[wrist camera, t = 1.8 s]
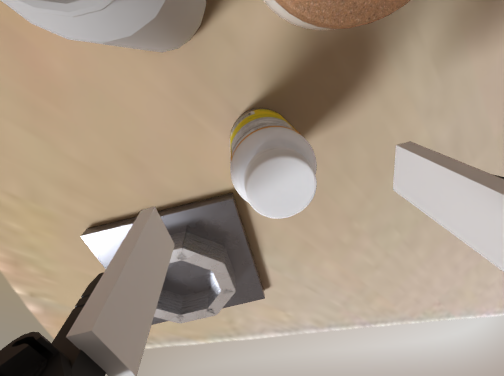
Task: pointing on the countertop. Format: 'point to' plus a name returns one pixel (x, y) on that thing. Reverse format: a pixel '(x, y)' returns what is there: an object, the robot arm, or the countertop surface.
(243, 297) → the collar
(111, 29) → the can
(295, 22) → the lidded jar
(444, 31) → the countertop surface
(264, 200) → the supplement bottle
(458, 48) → the countertop surface
